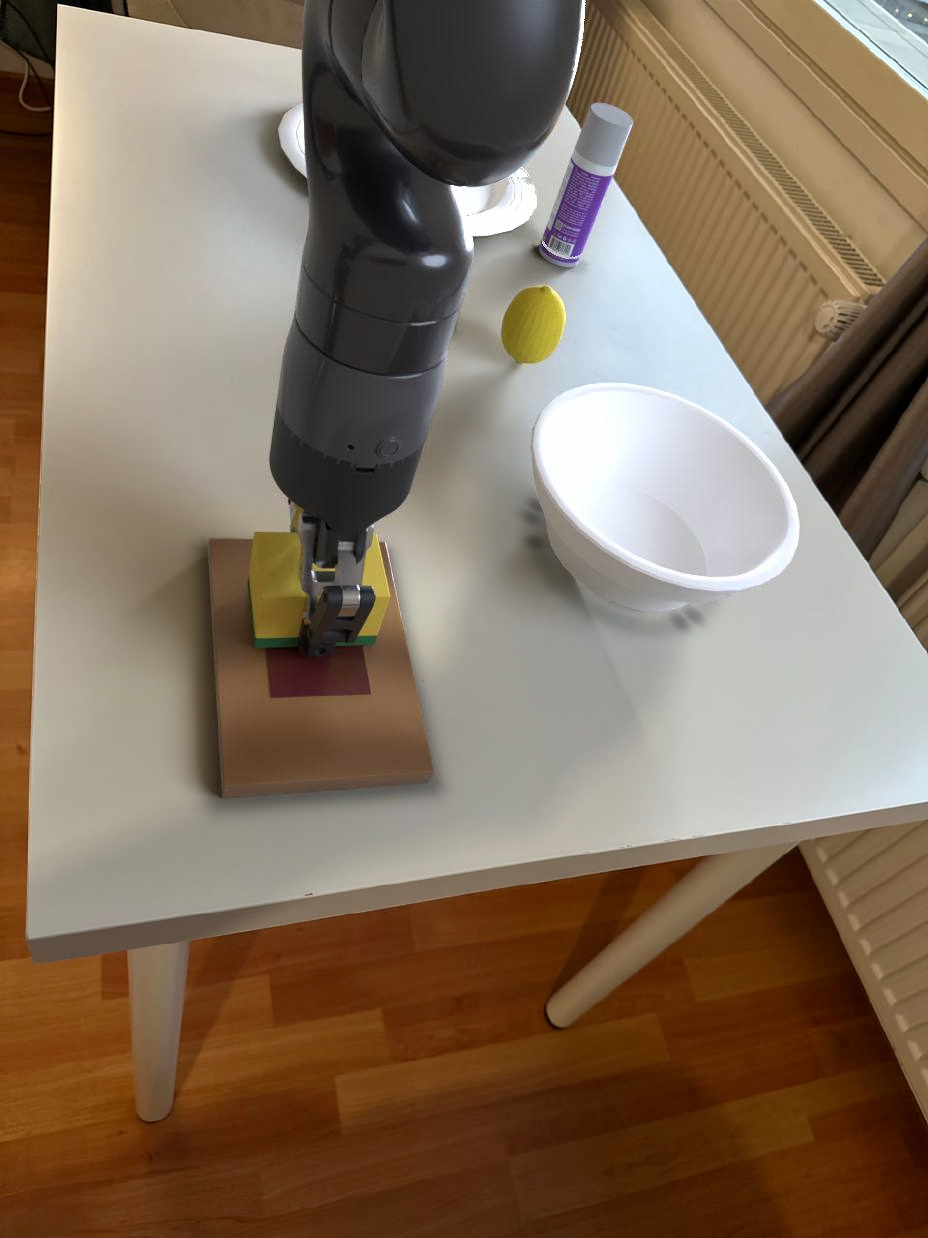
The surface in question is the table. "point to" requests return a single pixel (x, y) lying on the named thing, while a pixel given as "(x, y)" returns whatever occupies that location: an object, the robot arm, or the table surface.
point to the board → (310, 700)
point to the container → (585, 183)
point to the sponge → (299, 591)
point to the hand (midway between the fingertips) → (309, 614)
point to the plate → (473, 200)
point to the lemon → (533, 324)
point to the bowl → (658, 498)
